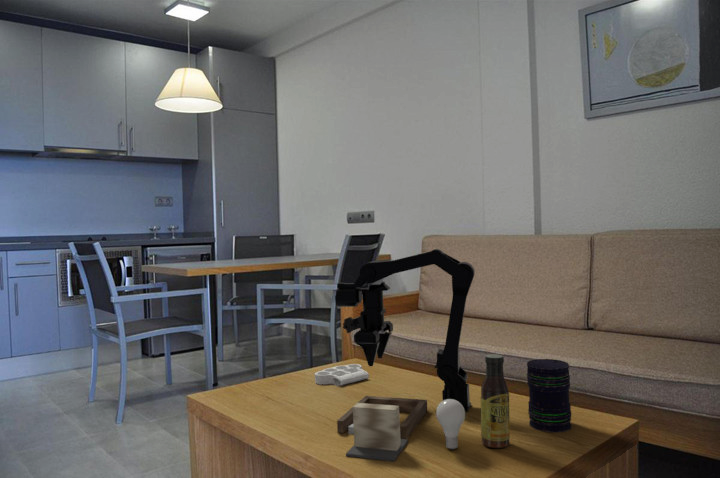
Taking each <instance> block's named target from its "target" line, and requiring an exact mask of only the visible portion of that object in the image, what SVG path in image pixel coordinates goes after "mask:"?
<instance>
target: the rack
mask: <svg viewBox="0 0 720 478" xmlns="http://www.w3.org/2000/svg"><path fill="white" fill-rule="evenodd" d="M357 403H367V404H381V405H395V406H399V413H400V412H401V413H402V412H404V413H409V414H408V416H406V418H405V419H403V422H401V423H400V438H401V439H408V438H409V437H410V436H411V434H412V433H413V432H414V430H415V429H416V427H417V426H418V424H420V422H421V420H422V419H423V418H424V417H425V415H426V414H427V412H428V400H427V399H421V398H406V397H405V398H401V397H391V396H374V395H373V396H371V395H365V396H363V397H362V398H361V399H360V400H359V401H358V402H357ZM352 424H353V406H352V407H351V408H350V409H348V411H346V412H345V413H344V414H343V415H342V416H340V417H339V418H338V419H337V420H336V426H337V433H338V434H345V432H347V431H348V426H350V425H352Z"/></svg>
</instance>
